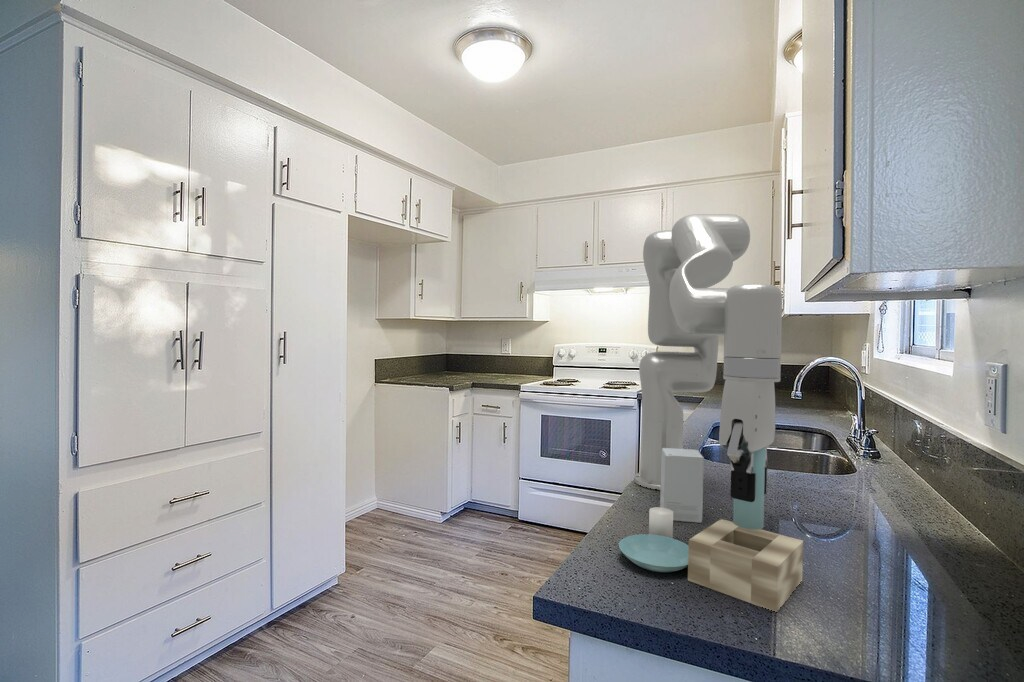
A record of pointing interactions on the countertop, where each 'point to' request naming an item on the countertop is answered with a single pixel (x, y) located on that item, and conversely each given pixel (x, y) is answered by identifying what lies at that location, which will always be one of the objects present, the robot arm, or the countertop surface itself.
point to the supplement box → (682, 483)
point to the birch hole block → (746, 563)
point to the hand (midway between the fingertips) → (748, 494)
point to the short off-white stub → (661, 522)
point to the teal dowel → (753, 512)
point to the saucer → (655, 552)
